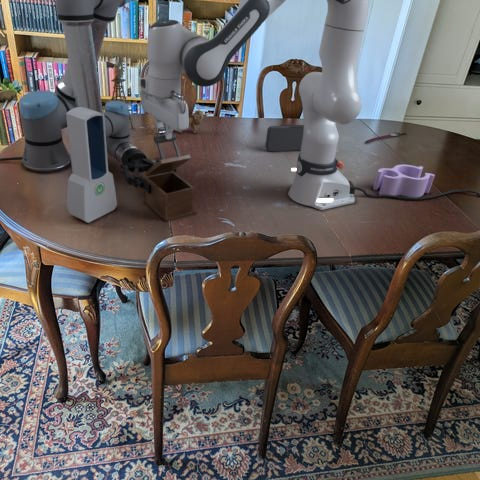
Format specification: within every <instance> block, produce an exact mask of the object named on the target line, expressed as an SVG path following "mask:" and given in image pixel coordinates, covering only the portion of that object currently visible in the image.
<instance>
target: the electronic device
mask: <svg viewBox="0 0 480 480" xmlns="http://www.w3.org/2000/svg"><path fill="white" fill-rule="evenodd" d="M66 118H67V127H66V128H67V135H68V143H69V155H70V159H71V171H72V173H71V174H70V176H69V177H68V180H67V195H66V196H67V198H66V209H67V211H68V213H69V215H71V216H73V217H75V218H77V219H79V220H81V221H83V222H85V223H88V224H90V223H91V222H93V221H95V220H97V219H99V218H101V217H103V216H105V215H108V214H109V213H111V212H113V211H114V210H115V209H116V208H117V206H118V200H117V193H116V188H115V187H116V186H115V180H114V179H115V178H114V174H113V173H112V172H110V171H109V162H108V161H109V160H108V152H107V145H106V130H105V115H104V114H103V113H100V112H97V111H94V110H91V109H88V108H84V107H77V108H73V109H71V110H70V111H68V112H67V113H66Z"/></svg>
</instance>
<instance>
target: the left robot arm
mask: <svg viewBox="0 0 480 480" xmlns="http://www.w3.org/2000/svg"><path fill="white" fill-rule="evenodd" d="M128 2H129V0H55V9H56V16H57V21H58V22H59V23H60V24H61V25H62V28H63V29H62V30H63V35H64V41H65V47H66V51H67V52H66V53H67V62H66V65H65V66H66V67H65V69H64V74H63V77H61V78H59V79H58V80H57V82H56V85H55V90H54V91H51V90H44V89H43V90H41V89H40V90H34V91H30V92H27V93H25V94H23V95H22V96H21V97H20V99H19V103H18V105H19V115H20V120H21V125H22V132H23V137H24V148H23V153H22V156H14V157H1V158H0V162H6V161H20V160H21V161H22V166H23V168H24V169H25V170H27V171H29V172H33V173H39V174H46V173H56V172H61V171H63V170H66V169H67V168H69V167H70V166H71V165H72V163H71V154H70V152H69V151H68V150H67V149H68V148H67V147H66V145H65V143H64V140H63V132H62V130H63V129H66V128H68V127H67V118H66V113H67V112H68V111H70V110H71V109H73V108H77V107H84V108H88V109H91V110H94V111H97V112H100V113H103V114H104V115H105V130H106V145H107V154H108V155H109V156H111V157H112V158H113V159H115V160H116V161H117V163H119V168H120V169H119V171H120V174H122V175H123V177H124V179H125V181H126V184H127V185H128V186H131V185H132V184H133V187H135V188H137V187H138V188H140V189H142V190H144V192H145V191H146V192H147V193H151V185H150V184H149V183H148V182H147V181H146V180H145V178H144V177H142V176H141V175H140V174H142V173H145V172H146V171H148V170H149V169H150V168H151V167H152V166H154V165H155V164H156V163H157V162H158V161H160V160H161V159H160V158H159V157H155V160H152V159H149V158H148V157H147V156H146V154H145V153H144V152H143V151H141V150H140V149H139V148H138V147H137V146H136V145H134V144H132V142H131V135H130V131H131V130H130V129H131V128H130V126H131V125H130V123H129V121H130V120H129V116H131V114H130V115H129V112H130V108H129V105H128V103H127V104H126V103H125V101H123V100H122V101H120V100H117V101H116V100H113V101H112V100H109V101H107V102H106V103H105V104H104V105H105V106H104V110H103V102H102V96H101V89H100V81H99V73H98V65H97V64H98V63H97V62H98V60H99V56H100V52H101V51H102V46H103V43H104V40H105V35H106V33H107V29H108V26H109V24H110V23H113V22H115V20H116V17H117V14H118V11H119V8H123V7H124V6H125V5H126V4H127V3H128ZM128 108H129V109H128ZM177 170H178V168H177V169H176V170H174V171H173V172H175V173H176V174H177V175H178V176H179V174H178V173H177V172H178V171H177ZM171 172H172V171H171ZM131 173H133V176H132V175H131Z"/></svg>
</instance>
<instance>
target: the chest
mask: <svg viewBox="0 0 480 480" xmlns="http://www.w3.org/2000/svg"><path fill="white" fill-rule="evenodd" d="M177 174H178V173H177ZM177 174H176V173H175V172H173V171H172V172H167V173H162V174H157V175H152V176H148V177H145V176H144V179H145V180H146V181H147V182H148V183H149V184H150V185H151V193H147V192H146V191H145V190H144V192H145V193H144V195H145V203H146V205H147V206H149V208H151V209H152V210H153V211H154V212H155V213H156V214H157V215H158V216H160V217H161V218H162V220H164V221H165V222H167V221H171V220H175V219H178V218H181V217H185V216H190V215H193V214H194V211H195V210H194V209H195V208H194V207H195V187H194V186H193V185H192V184H190V183H189V182H187V181H186V180H185V179H184V178H182V177H181V176H180V175H179V174H178V175H177Z"/></svg>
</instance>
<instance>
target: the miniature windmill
mask: <svg viewBox="0 0 480 480" xmlns="http://www.w3.org/2000/svg"><path fill="white" fill-rule="evenodd" d="M105 65H106V68H107V69H113V68H114V70H115V71H114V73H115V78H113V79H111V80H110V81H111V82H112V83H114V85H113V86H112V88H113V90H112V96H111V100H110V101H122V102H123V101H124V102H125V103H126V104H127V105H128V101H127V96H126V93H125V90H124V86H123V83H124V82H125V81H127V79H125V78H123V76H124V74H125V70H124V69H126V67H125V65H126V63H125V60H124V56H121V53H119V54H118V56H116V60H115V63H113V62H111V61H107V60H106V64H105ZM121 91H122V92H121ZM118 92H119V95H118ZM122 94H123V95H122ZM128 109H129V110H130V107H128ZM129 115H130V116H129V124H130V126H131V129H134V125H133V119H132V116H131V112H130V111H129Z"/></svg>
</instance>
